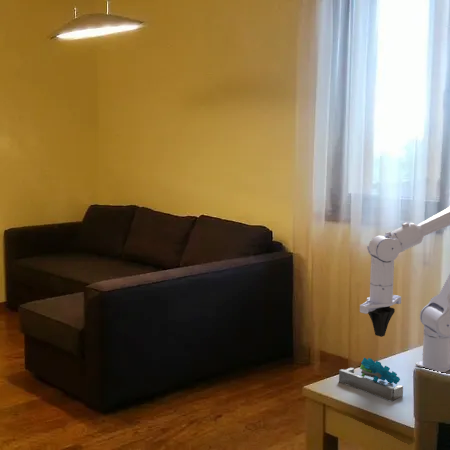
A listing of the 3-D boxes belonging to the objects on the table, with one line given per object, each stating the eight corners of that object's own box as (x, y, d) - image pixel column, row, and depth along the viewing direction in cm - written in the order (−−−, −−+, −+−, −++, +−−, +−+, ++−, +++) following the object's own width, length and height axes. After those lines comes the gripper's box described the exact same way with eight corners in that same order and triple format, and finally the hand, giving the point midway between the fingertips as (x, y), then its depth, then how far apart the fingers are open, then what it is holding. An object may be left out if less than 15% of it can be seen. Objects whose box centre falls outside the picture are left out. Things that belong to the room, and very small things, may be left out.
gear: (409, 382, 164) (385, 359, 160) (397, 403, 162) (373, 380, 158) (376, 374, 173) (353, 351, 169) (365, 394, 171) (341, 371, 167)
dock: (350, 377, 172) (351, 365, 171) (402, 396, 160) (403, 384, 159) (338, 381, 169) (339, 370, 168) (391, 401, 157) (391, 388, 157)
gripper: (386, 276, 180) (384, 326, 182) (350, 285, 171) (349, 337, 173) (408, 281, 175) (406, 332, 177) (373, 290, 165) (371, 344, 168)
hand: (379, 335), depth 175 cm, fingers closed
